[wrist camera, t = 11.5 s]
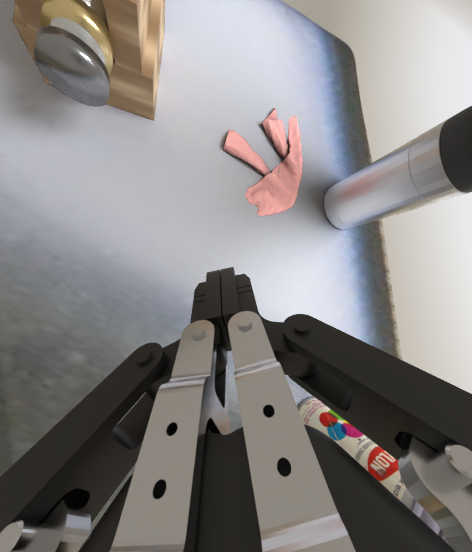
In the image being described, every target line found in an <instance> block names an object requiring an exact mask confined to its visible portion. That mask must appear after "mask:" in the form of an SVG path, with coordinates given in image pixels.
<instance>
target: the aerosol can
mask: <svg viewBox="0 0 472 552" xmlns="http://www.w3.org/2000/svg"><path fill="white" fill-rule="evenodd" d="M297 408H298V411H299V413H300V416H301V419H302V421H303V424H305V425H308V426H311V427H313V428H315V429H317V430H319V431H321V432H323V433H324V434H326V435H327V436H329V437H330V438H331V439H333V440H334V441H335V442H336V443H337V444H339V445H340V446H341V447H342V448H343V449H344V450H345V451H346V452H347V453H349V454H350V455H351V456H352V457H353V458H354V459H355V460H356V461H357V462H358V463H360V464H361V465H362V466H363V467H364V468H365V469H366V470H367V471H368V472H369V473H370V474H372V475H373V476H374V477H375V478H376V479H377V480H378V481H379V482H380V483H381V484H383V485H384V486H385V487H386V488H387V489H388V490H389V491H390V492H391V493H392V494H394V495H395V496H396V497H397V498H398V499H399V500H400V501H401V502H402V503H403V504H405V505H406V506H407V507H408V508H409V509H410V510H411V511H412V512H413V513H414V514H416V515H417V516H418V517H419V518H420V519H421V520H422V521H423V522H424V523H425V524H427V525H428V526H429V527H430V528H431V529H432V530H433V531H434V532H435V533H436V534H438V535H439V536H440V537H441V538H442V539H443V540H444V541H445V542H446V543H447V544H449V543H448V541H447V539H446V537H445V535H444V534H443V532H442V530H441V529H440V527H439V526H438V524H437V523H436V522H435V520H434V519H433V518H432V517H431V516H430V514H429V513H428V512H427V511H426V510H425V509H424V508H423V507H422V506H421V505H420V504H419V503H418V502H417V501H416V500H415V499H414V498H413V497H412V495H411V494H410V493H409V491H408V490H407V488H406V486H405V485H404V483H403V481H402V478H401V476H400V472H399V468H398V460H396V459H395V458H394V457H392V456H391V455H390V454H388V453H387V452H386V451H385V450H383V449H382V448H381V447H379V446H378V445H377V444H375V443H374V442H373V441H371V440H370V439H369V438H368V437H366V436H365V435H364V434H362V433H361V432H360V431H358V430H357V429H356V428H354V427H353V426H352V425H351V424H349V423H348V422H347V421H345V420H344V419H343V418H341V417H340V416H339V415H337V414H336V413H335V412H334V411H332V410H331V409H330V408H328V407H327V406H326V405H324V404H323V403H322V402H320V401H319V400H318V399H317V398H315V397H313V396H312V397H307V398H305V399H303V400H302V401H301V402H300V403H299V405H298V406H297Z"/></svg>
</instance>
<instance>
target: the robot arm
mask: <svg viewBox="0 0 472 552" xmlns="http://www.w3.org/2000/svg"><path fill="white" fill-rule="evenodd" d="M469 192H472V106H471V107H469V108H467V109H465V110H463V111H461V112H460V113H458V114H456V115H454V116H453V117H451V118H449V119H448V120H446V121H444V122H443V123H441V124H439V125H437V126H436V127H434V128H432V129H430V130H429V131H427V132H425V133H423V134H422V135H420V136H419V137H417V138H415V139H413V140H411V141H410V142H408V143H406V144H405V145H403V146H401V147H399V148H398V149H396V150H394V151H393V152H391V153H389V154H387V155H385V156H384V157H382V158H380V159H378V160H377V161H375V162H373V163H372V164H370V165H368V166H366V167H365V168H363V169H361V170H359V171H358V172H356V173H354V174H352V175H351V176H349V177H347V178H345V179H344V180H342V181H340V182H338V183H337V184H335V185H333V186H331V187H330V188H329V189H328V190H327V192H326V194H325V198H324V209H325V213H326V216H327V218H328V220H329V221H330V222H331V224H332V225H334V226H335V227H336V228H338V229H341V230H346V229H350V228H353V227H357V226H360V225H363V224H367V223H370V222H374V221H377V220H380V219H383V218H387V217H390V216H393V215H397V214H400V213H403V212H406V211H410V210H413V209H417V208H420V207H423V206H427V205H430V204H433V203H436V202H440V201H443V200H446V199H449V198H453V197H456V196H459V195H463V194H466V193H469ZM231 350H232V354H233V360H234V365H235V382H236V388H237V394H238V400H239V406H240V412H241V418H242V424H243V427H242V428H240V429H238V430H236V431H234V432H232V433H230V422H229V417H228V363H227V351H231ZM285 375H288V376H289V377H290V378H291V379H292V380H293V381H294V382H296V383H297V384H298V385H300V386H301V387H302V388H303V389H305V390H306V391H307V392H309V393H310V394H311V395H313V396H314V397H315V398H317V399H318V400H319V401H320V402H322V403H323V404H324V405H326V406H327V407H328V408H330V409H331V410H332V411H334V412H335V413H336V414H337V415H339V416H340V417H341V418H343V419H344V420H345V421H347V422H348V423H349V424H351V425H352V426H353V427H354V428H356V429H357V430H358V431H360V432H361V433H362V434H364V435H365V436H366V437H368V438H369V439H370V440H371V441H373V442H374V443H375V444H377V445H378V446H379V447H381V448H382V449H383V450H385V451H386V452H387V453H388V454H390V455H391V456H392V457H394V458H395V459H396V460H398V468H399V472H400V476H401V478H402V481H403V483H404V485H405V486H406V488H407V490H408V491H409V493H410V494H411V495H412V497H413V498H414V499H415V500H416V501H417V502H418V503H419V504H420V505H421V506H422V507H423V508H424V509H425V510H426V511H427V512H428V513H429V514H430V516H431V517H432V518H433V519H434V520H435V522H436V523H437V524H438V526H439V527H440V529H441V530H442V532H443V534H444V535H445V537H446V539H447V541H448V543H449V544H447V543H446V542H445V541H444V540H443V539H442V538H441V537H440V536H439V535H438V534H436V533H435V532H434V531H433V530H432V529H431V528H430V527H429V526H428V525H427V524H425V523H424V522H423V521H422V520H421V519H420V518H419V517H418V516H417V515H416V514H414V513H413V512H412V511H411V510H410V509H409V508H408V507H407V506H406V505H405V504H403V503H402V502H401V501H400V500H399V499H398V498H397V497H396V496H395V495H394V494H392V493H391V492H390V491H389V490H388V489H387V488H386V487H385V486H384V485H383V484H381V483H380V482H379V481H378V480H377V479H376V478H375V477H374V476H373V475H372V474H370V473H369V472H368V471H367V470H366V469H365V468H364V467H363V466H362V465H361V464H360V463H358V462H357V461H356V460H355V459H354V458H353V457H352V456H351V455H350V454H349V453H347V452H346V451H345V450H344V449H343V448H342V447H341V446H340V445H339V444H337V443H336V442H335V441H334V440H333V439H331V438H330V437H329V436H327V435H326V434H324V433H323V432H321V431H319V430H317V429H315V428H313V427H311V426H308V425H305V424H303V421H302V419H301V416H300V413H299V411H298V408H297V406H296V403H295V400H294V398H293V395H292V393H291V390H290V387H289V385H288V382H287V380H286V377H285ZM145 392H146V394H145V395H144V396H143V397H142V398H141V399H140V400H139V402H138V403H137V404H136V405H135V406H134V407H133V408H132V410H131V411H130V412H129V413H128V414H127V415H126V416H125V418H124V419H123V420H122V421H121V422H120V423H119V424H117V423H118V422H119V421H120V420H121V419H122V417H123V416H124V415H125V414H126V413H127V412H128V411H129V410H130V408H131V407H132V406H133V405H134V404H135V403H136V402H137V400H138V399H139V398H140V397H141V396H142V395H143V394H144V393H145ZM116 424H117V425H116ZM136 462H137V463H136ZM135 463H136V467H135V470H134V473H133V474H132V475H131V476H130V478H129V479H128V480H127V482H126V483H125V485H124V486H123V487H122V489H121V490H120V492H119V493H118V495H117V496H116V498H115V499H114V500H113V502H112V503H111V505H110V506H109V508H108V509H107V511H106V512H105V513H104V515H103V516H102V518H101V519H100V521H99V522H98V524H97V525H96V526H95V528H94V529H93V531H92V532H91V531H90V527H91V523H92V521H93V520H94V519H95V517H96V516H97V515H98V513H99V512H100V510H101V509H102V508H103V506H104V505H105V504H106V502H107V501H108V500H109V498H110V497H111V496H112V494H113V493H114V491H115V490H116V489H117V487H118V486H119V485H120V483H121V482H122V481H123V479H124V478H125V477H126V475H127V474H128V472H129V471H130V470H131V468H132V467H133V466H134V464H135ZM0 552H472V394H470V393H468V392H466V391H464V390H462V389H460V388H458V387H456V386H454V385H452V384H450V383H448V382H445V381H444V380H441V379H439V378H437V377H435V376H433V375H431V374H429V373H427V372H425V371H423V370H421V369H419V368H417V367H414V366H412V365H410V364H408V363H406V362H404V361H402V360H400V359H398V358H396V357H394V356H392V355H390V354H388V353H386V352H384V351H382V350H379V349H377V348H375V347H373V346H371V345H369V344H367V343H365V342H363V341H361V340H359V339H357V338H355V337H353V336H350V335H348V334H346V333H344V332H342V331H340V330H338V329H336V328H334V327H332V326H330V325H328V324H326V323H324V322H322V321H319V320H317V319H315V318H313V317H311V316H309V315H305V314H296V315H292V316H290V317H288V318H287V319H286V320H285V321H284V323H282V322H272V321H268V320H266V319H264V318H263V317H262V316H261V315H260V314H259V312H258V309H257V305H256V301H255V297H254V293H253V290H252V286H251V282H250V278H249V277H247V276H246V275H245V274H241V275H236V276H235V271H234V267H231V268H226V269H221V271H220V270H217V271H212V272H207V276H206V282H203V283H199V284H198V286H197V287H196V289H195V292H194V300H193V308H192V315H191V323H190V325H188V326H187V327H186V328H185V330H184V331H183V333H182V336H181V339H179V340H178V341H176V342H174V343H172V344H170V345H168V346H166V347H164V348H162V347H161V345H159V344H157V343H148V344H145V345H143V346H141V347H139V348H138V349H137V350H135V351H134V352H133V353H132V354H131V355H130V356H129V357H128V358H127V359H126V360H125V361H124V362H123V363H121V364H120V365H119V366H118V367H117V368H116V369H115V370H114V371H113V372H112V373H111V374H110V375H109V376H108V377H107V378H105V379H104V380H103V381H102V382H101V383H100V384H99V385H98V386H97V387H96V388H95V389H94V390H93V391H92V392H91V393H89V394H88V395H87V396H86V397H85V398H84V399H83V400H82V401H81V402H80V403H79V404H78V405H77V406H76V407H75V408H73V409H72V410H71V411H70V412H69V413H68V414H67V415H66V416H65V417H64V418H63V419H62V420H61V421H60V422H59V423H57V424H56V425H55V426H54V427H53V428H52V429H51V430H50V431H49V432H48V433H47V434H46V435H45V436H44V437H43V438H41V439H40V440H39V441H38V442H37V443H36V444H35V445H34V446H33V447H32V448H31V449H30V450H29V451H28V452H27V453H25V454H24V455H23V456H22V457H21V458H20V459H19V460H18V461H17V462H16V463H15V464H14V465H13V466H12V467H11V468H9V470H7V471H6V472H5V473H4V474H3V475H2V476H1V477H0Z"/></svg>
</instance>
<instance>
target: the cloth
mask: <svg viewBox="0 0 472 552" xmlns="http://www.w3.org/2000/svg"><path fill="white" fill-rule="evenodd" d="M273 110H274V111H273V112H272V113H271V114H270V115H269V116H268V117H267V118H266V119H265V120H264V121H263V123H262V124H261V125H262V126H263V127H264V129H265V132H266V134H267V136H268V138H269V139H270V141H271V142H272V143H273V144H274V145H275V148H276V151H277V153H278V155H279V156H280V157H281V158H282V159H283V161H282V162H281V163H280V164H279V165H277V166H276V168H275V169H273V170H272V173H271V172H270V171H269V169H268V167H267V166H266V164H265V163H264V161H263V160H262V158H261V157H260V156H259V155H258V154H256V153H255V152H254V151H253V150H252V149H251V147H250V146H249V144H248V143H247V141H246V140H245V139H244V138H243V137H241V136H240V135H239V134H238V133H236V132H235V131H231V130H229V132H228V135H227V139H226V142H225V146H224V149H223V151H225V152H227V153H229V154H231V155H233V156H236V157H238V158H240V159H242V160H243V161H245V162H246V163H247V164H248V165H249V166H251V167H252V168H253V169H254V170H256V171H257V172H258V173H259V174H261V175H262V176H263V177H264V178H263V179H261V180H260V181H259V182H258V183H257V184H255V185H253V186H252V187H250V188H248V189H247V193H246V194H245V197H246V199H247V200H248V201H249V203H250V204H256V206H257V208H258V211H257V214H258V215H260V216H265V215H272V214H277V213H279V212H284V211H286V210H287V209H289V208H291V207H292V206H293V205H294V203H295V201H296V196H297V195H298V193H299V192H298V191H297V190H298V187H299V186H300V180H301V176H302V163H303V161H302V156H301V151H302V146H301V142H300V131H299V127H298V123H297V118H296V116H292V117H291V118H290V119H289V133H288V139H289V147H290V149H289V151H290V152H289V151H288V145H287V143H286V137H285V130H284V126H283V122H282V120H281V119H278V120H277V114H276V109H275V108H273ZM278 167H279V172H278ZM290 185H291V186H290Z"/></svg>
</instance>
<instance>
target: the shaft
mask: <svg viewBox="0 0 472 552" xmlns="http://www.w3.org/2000/svg"><path fill="white" fill-rule="evenodd" d="M40 23H41V28H40V29H39V30H38V32H37V36H36V42H35V48H34V59H35V62H36V64H37V66H38V68H39V70H40V71H41V72H42V74H43V75H44V76H45V77H46V79H47V80H48V81H49V82H50V83H51V84H53V85H54V86H55V87H56V88H57V89H58V90H60V91H61V92H62V93H64V94H65V95H67V96H68V97H70V98H72V99H74V100H76V101H78V102H80V103H83V104H86V105H89V106H102V105H104V104H105V103H106V102H107V100H108V95H109V88H110V76H109V74H110V73H111V71H112V66H113V59H114V44H113V40H112V37H111V35H110V33H109V28H108V23H107V18H106V12H105V7H104V2H103V0H43V2H42V8H41V13H40Z"/></svg>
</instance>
